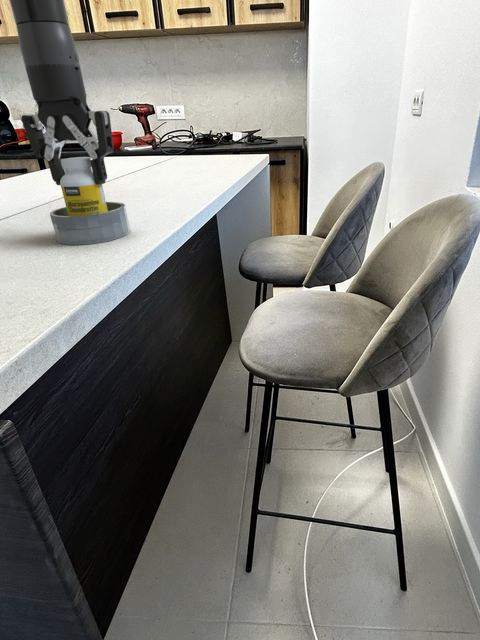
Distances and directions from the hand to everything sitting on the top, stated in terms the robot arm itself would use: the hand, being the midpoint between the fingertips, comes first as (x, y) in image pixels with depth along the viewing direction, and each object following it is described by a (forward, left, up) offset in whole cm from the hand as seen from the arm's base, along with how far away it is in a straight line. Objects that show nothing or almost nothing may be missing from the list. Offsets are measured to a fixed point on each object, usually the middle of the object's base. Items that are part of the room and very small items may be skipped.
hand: (81, 183), depth 71 cm
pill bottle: (0, 0, -8) cm, 8 cm away
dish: (0, 0, -8) cm, 8 cm away
